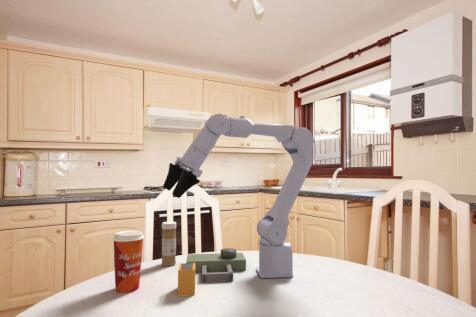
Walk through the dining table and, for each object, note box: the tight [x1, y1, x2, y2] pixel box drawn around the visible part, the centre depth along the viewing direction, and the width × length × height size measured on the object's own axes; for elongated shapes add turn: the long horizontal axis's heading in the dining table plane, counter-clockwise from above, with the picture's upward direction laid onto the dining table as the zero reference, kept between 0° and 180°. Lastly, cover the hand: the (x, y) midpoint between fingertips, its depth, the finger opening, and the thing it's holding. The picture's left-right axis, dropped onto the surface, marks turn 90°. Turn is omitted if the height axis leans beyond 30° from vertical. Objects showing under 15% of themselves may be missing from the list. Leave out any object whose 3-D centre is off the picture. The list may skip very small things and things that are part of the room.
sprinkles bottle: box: [161, 221, 177, 267], centre depth 94 cm, size 5×5×13 cm
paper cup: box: [112, 230, 145, 294], centre depth 75 cm, size 8×8×14 cm
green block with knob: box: [185, 247, 247, 283], centre depth 88 cm, size 18×17×5 cm
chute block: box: [177, 262, 196, 297], centre depth 73 cm, size 4×5×6 cm
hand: (170, 192), depth 80 cm, fingers open, 7 cm apart
